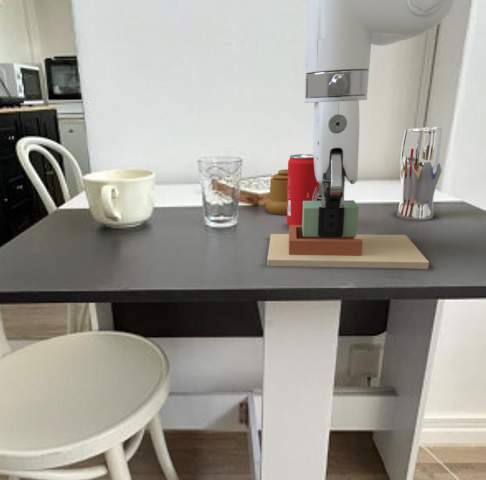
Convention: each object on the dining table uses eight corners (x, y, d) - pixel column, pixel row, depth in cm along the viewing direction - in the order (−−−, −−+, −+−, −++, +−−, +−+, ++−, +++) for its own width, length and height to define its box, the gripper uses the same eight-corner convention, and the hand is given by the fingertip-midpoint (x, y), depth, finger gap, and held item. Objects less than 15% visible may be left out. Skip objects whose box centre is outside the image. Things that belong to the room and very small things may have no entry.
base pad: (405, 241, 66) (407, 221, 64) (428, 269, 55) (431, 246, 54) (270, 239, 69) (270, 221, 68) (267, 266, 58) (267, 244, 57)
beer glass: (385, 214, 81) (394, 129, 75) (416, 210, 83) (427, 126, 77) (412, 223, 74) (424, 130, 69) (445, 218, 76) (459, 128, 71)
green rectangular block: (302, 236, 60) (303, 208, 58) (302, 228, 64) (302, 200, 62) (356, 236, 58) (358, 207, 57) (352, 227, 62) (354, 200, 61)
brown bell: (306, 215, 82) (266, 216, 83) (301, 206, 89) (264, 207, 90) (308, 172, 79) (267, 174, 80) (302, 166, 86) (264, 168, 87)
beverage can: (298, 222, 78) (300, 153, 74) (323, 227, 74) (327, 154, 70) (280, 228, 75) (281, 156, 70) (306, 234, 71) (309, 158, 67)
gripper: (380, 85, 46) (366, 250, 53) (357, 88, 61) (349, 216, 68) (307, 89, 47) (302, 250, 54) (303, 91, 63) (299, 216, 69)
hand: (328, 229), depth 61 cm, fingers closed on green rectangular block, 4 cm apart
